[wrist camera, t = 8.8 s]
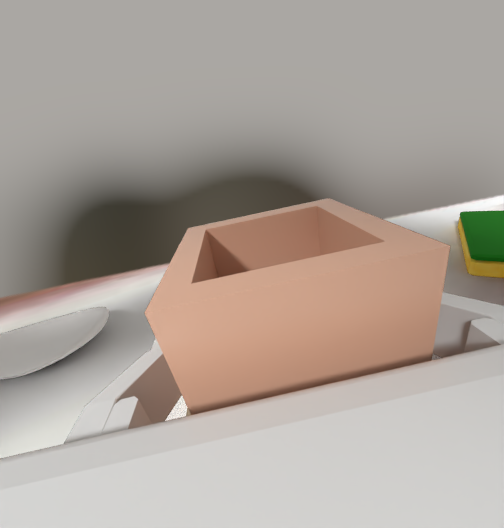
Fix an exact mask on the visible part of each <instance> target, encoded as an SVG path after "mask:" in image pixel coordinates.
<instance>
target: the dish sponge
mask: <svg viewBox="0 0 504 528" xmlns="http://www.w3.org/2000/svg"><path fill="white" fill-rule="evenodd" d="M458 229H459V234H460V238H461V243H462V248H463V253H464V257H465V262H466V267H467V271H468V273H469V274H471V275H475V276H486V277H498V278H504V211H472V212H461V213H460V217H459V223H458Z"/></svg>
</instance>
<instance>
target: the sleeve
mask: <svg viewBox="0 0 504 528" xmlns="http://www.w3.org/2000/svg"><path fill="white" fill-rule="evenodd" d="M449 252H450V245H447V244H444V243H442V242H439V241H437V240H434V239H432V238H429V237H427V236H424V235H421V234H419V233H416V232H414V231H411V230H409V229H406V228H403V227H401V226H398V225H396V224H393V223H391V222H388V221H385V220H383V219H380V218H378V217H375V216H373V215H370V214H368V213H365V212H362V211H360V210H357V209H355V208H352V207H350V206H347V205H344V204H342V203H339V202H337V201H334V200H331V199H329V198H328V199H323V200H319V201H314V202H309V203H304V204H300V205H295V206H291V207H286V208H281V209H276V210H272V211H267V212H262V213H258V214H253V215H248V216H243V217H239V218H234V219H230V220H225V221H220V222H215V223H211V224H206V225H201V226H197V227H192V228H188V230H187V231H186V233H185V235H184V237H183V239H182V241H181V243H180V245H179V247H178V249H177V251H176V253H175V255H174V257H173V259H172V260H171V262H170V264H169V266H168V268H167V270H166V272H165V274H164V276H163V278H162V280H161V282H160V284H159V286H158V287H157V289H156V291H155V293H154V295H153V297H152V299H151V301H150V303H149V305H148V307H147V309H146V311H145V315H146V318H147V320H148V322H149V324H150V326H151V329H152V331H153V333H154V335H155V337H156V339H157V342H158V344H159V346H160V348H161V350H162V352H163V355H164V357H165V359H166V361H167V363H168V366H169V368H170V370H171V372H172V374H173V376H174V379H175V381H176V383H177V385H178V387H179V390H180V392H181V394H182V396H183V398H184V400H185V403H186V405H187V407H188V409H189V411H190V414H191V415H194V414H199V413H203V412H207V411H212V410H216V409H221V408H225V407H229V406H234V405H238V404H243V403H247V402H251V401H256V400H260V399H265V398H269V397H273V396H278V395H282V394H286V393H291V392H295V391H300V390H304V389H308V388H313V387H317V386H321V385H326V384H330V383H335V382H339V381H343V380H348V379H352V378H357V377H361V376H365V375H370V374H374V373H379V372H383V371H388V370H392V369H396V368H401V367H405V366H410V365H414V364H419V363H423V362H428V361H431V360H432V354H433V348H434V342H435V336H436V330H437V324H438V318H439V312H440V306H441V300H442V294H443V288H444V282H445V276H446V270H447V264H448V258H449Z"/></svg>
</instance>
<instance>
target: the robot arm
mask: <svg viewBox="0 0 504 528" xmlns="http://www.w3.org/2000/svg"><path fill="white" fill-rule="evenodd" d="M433 354H435V355H437V356H439V357H441V359H436V360H432V361H428V362H423V363H419V364H414V365H410V366H405V367H401V368H396V369H392V370H388V371H383V372H379V373H374V374H370V375H365V376H361V377H357V378H352V379H348V380H343V381H339V382H335V383H330V384H326V385H321V386H317V387H313V388H308V389H304V390H300V391H295V392H291V393H286V394H282V395H278V396H273V397H269V398H265V399H260V400H256V401H251V402H247V403H243V404H238V405H234V406H229V407H225V408H221V409H216V410H212V411H207V412H203V413H199V414H194V415H190V416H185V417H181V418H177V419H172V420H168V421H165V420H166V418H167V416H168V415H169V413H170V412H171V410H172V409H173V407H174V406H175V404H176V403H177V401H178V400H179V398H180V397H181V395H182V394H181V392H180V390H179V387H178V385H177V383H176V381H175V379H174V376H173V374H172V372H171V370H170V368H169V366H168V363H167V361H166V359H165V357H164V355H163V352H162V350H161V348H160V346H159V344H158V342H157V339H156V338H155V340H154V343H153V345H152V348H151V350H150V351H148V352H145V353H144V354H143V355H142V356H141V357H140V358H139V359H138V360H136V361H135V362H134V363H133V364H132V365H131V366H130V367H129V368H127V369H126V370H125V371H124V372H123V373H122V374H121V375H119V376H118V377H117V378H116V379H115V380H114V381H113V382H112V383H110V384H109V385H108V386H107V387H106V388H105V389H104V390H103V391H101V392H100V393H99V394H98V395H97V396H96V397H95V398H93V399H92V400H91V401H90V402H89V403H88V404H87V405H86V406H85V407H84V408H83V410H82V412H81V414H80V416H79V417H78V419H77V421H76V423H75V424H74V426H73V428H72V430H71V431H70V433H69V435H68V437H67V439H66V440H65V442H64V444H62V445H58V446H53V447H49V448H44V449H40V450H35V451H31V452H27V453H22V454H18V455H13V456H9V457H5V458H0V528H504V306H502V305H498V304H493V303H489V302H484V301H480V300H475V299H471V298H466V297H462V296H458V295H453V294H449V293H444V292H443V294H442V300H441V306H440V312H439V318H438V324H437V330H436V336H435V342H434V348H433Z"/></svg>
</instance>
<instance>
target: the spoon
mask: <svg viewBox="0 0 504 528" xmlns="http://www.w3.org/2000/svg"><path fill="white" fill-rule="evenodd" d="M108 317H109V310H108V308H106V307H96V308H90V309H85V310H82V311H78V312H75V313H71V314H67V315H63V316H60V317H56V318H52V319H49V320H45V321H42V322H39V323H35V324H32V325H29V326H26V327H22V328H19V329H15V330H12V331H8V332H5V333H1V334H0V379H8V378H15V377H19V376H23V375H26V374H29V373H32V372H35V371H37V370H40V369H42V368H44V367H46V366H49V365H51V364H53V363H55V362H57V361H59V360H61V359H63V358H64V357H66V356H68V355H69V354H71V353H73V352H74V351H76V350H77V349H79V348H80V347H82V346H83V345H85V344H86V343H87V342H89V341H90V340H91V339H92V338H93V337H95V336H96V335H97V334H98V333H99V332H100V331H101V330H102V329H103V327H104V326H105V324H106V322H107V320H108Z"/></svg>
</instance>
